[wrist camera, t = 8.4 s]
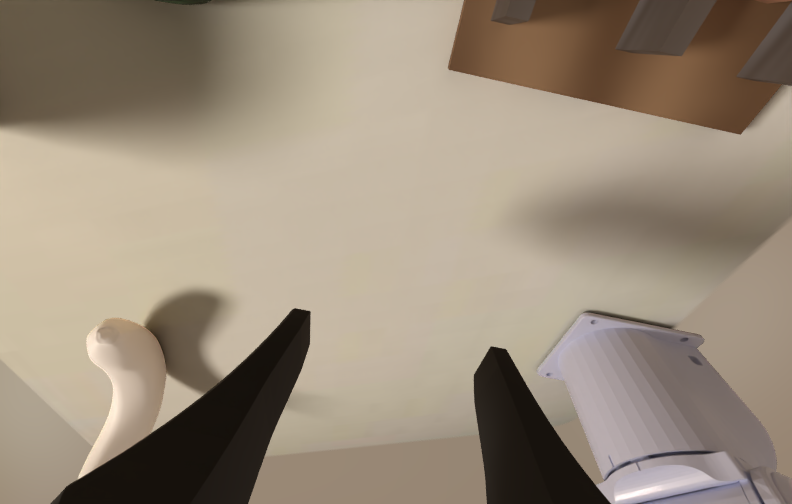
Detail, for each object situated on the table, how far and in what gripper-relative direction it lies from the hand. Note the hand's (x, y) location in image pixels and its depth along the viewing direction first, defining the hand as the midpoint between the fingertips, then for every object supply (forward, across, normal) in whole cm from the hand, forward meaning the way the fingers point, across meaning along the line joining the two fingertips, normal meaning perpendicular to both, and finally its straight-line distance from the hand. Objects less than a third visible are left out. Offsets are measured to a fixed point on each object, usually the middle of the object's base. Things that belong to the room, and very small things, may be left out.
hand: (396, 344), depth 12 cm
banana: (+10, +22, +20) cm, 31 cm away
